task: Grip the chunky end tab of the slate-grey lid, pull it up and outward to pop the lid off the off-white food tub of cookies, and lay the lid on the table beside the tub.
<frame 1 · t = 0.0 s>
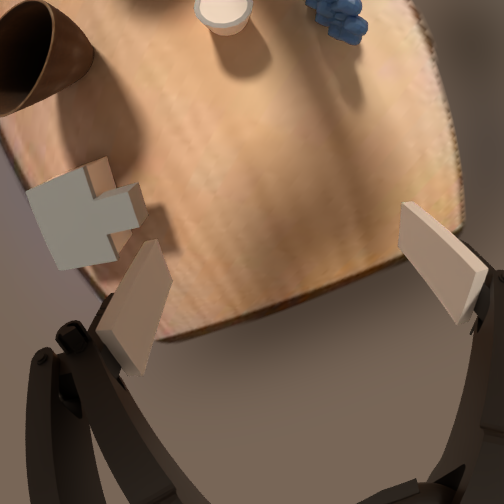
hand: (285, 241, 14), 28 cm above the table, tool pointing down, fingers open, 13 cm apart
beige cup: (227, 19, 28), on the table
tub: (90, 204, 42), on the table
plant pot: (75, 59, 29), on the table
lid: (70, 222, 36), point 7 cm above the table, touching tub
grapes: (326, 17, 28), on the table
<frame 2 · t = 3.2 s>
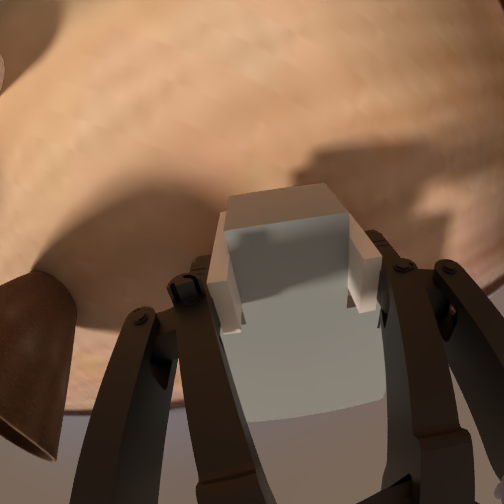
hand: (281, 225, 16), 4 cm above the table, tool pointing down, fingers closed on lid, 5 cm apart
plant pot: (49, 297, 25), on the table
lid: (298, 368, 19), point 7 cm above the table, touching gripper, tub
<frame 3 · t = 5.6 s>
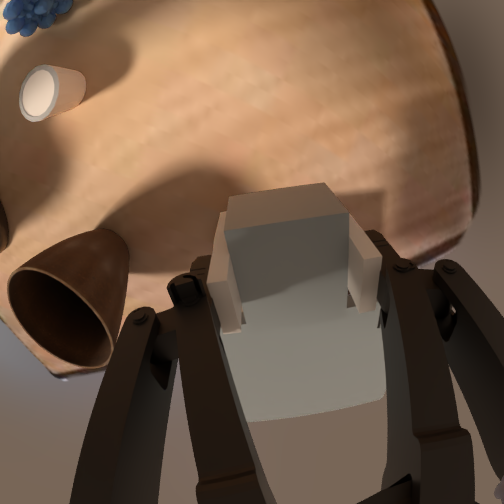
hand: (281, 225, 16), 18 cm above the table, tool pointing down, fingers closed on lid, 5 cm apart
beige cup: (70, 89, 26), on the table
plant pot: (107, 250, 38), on the table
lid: (298, 368, 19), point 21 cm above the table, touching gripper
grapes: (66, 5, 19), on the table
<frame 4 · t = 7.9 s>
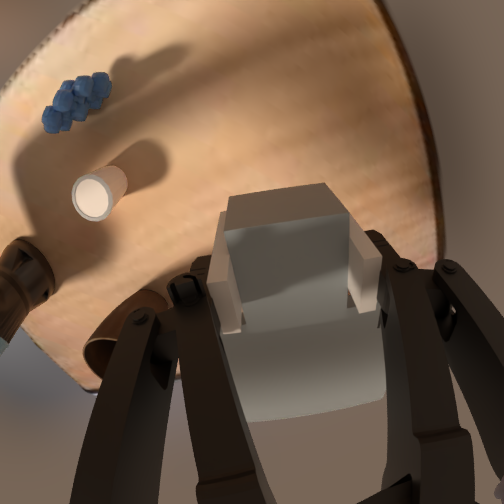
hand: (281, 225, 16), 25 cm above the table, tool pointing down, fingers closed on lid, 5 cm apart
beige cup: (112, 182, 39), on the table
plant pot: (149, 303, 51), on the table
lid: (298, 368, 19), point 27 cm above the table, touching gripper
grapes: (95, 96, 32), on the table
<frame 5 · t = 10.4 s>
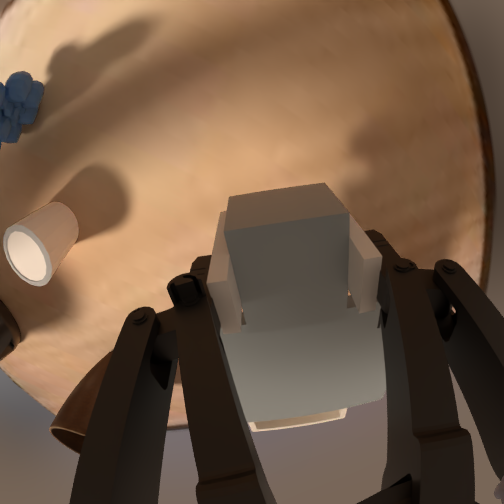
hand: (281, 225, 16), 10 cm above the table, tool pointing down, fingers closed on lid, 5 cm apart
beige cup: (60, 224, 26), on the table
tub: (291, 369, 39), on the table
plant pot: (126, 364, 38), on the table
lid: (298, 368, 19), point 12 cm above the table, touching gripper
grapes: (31, 105, 19), on the table
when the fingers open (3 cm above the table, at t = 12.6 s): lid drops 4 cm, point 1 cm above the table.
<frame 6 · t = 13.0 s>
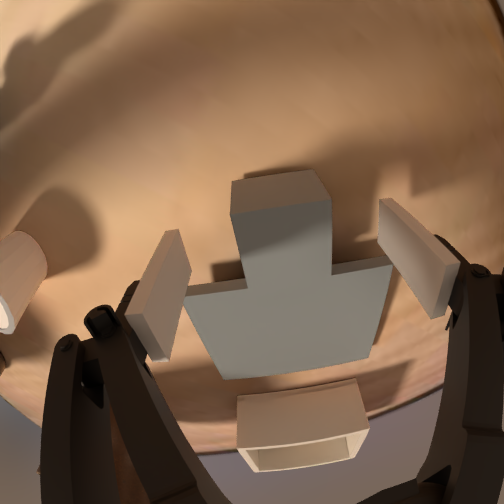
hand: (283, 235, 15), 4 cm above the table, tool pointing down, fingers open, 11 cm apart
beige cup: (27, 256, 20), on the table
tub: (298, 410, 33), on the table
plant pot: (116, 400, 32), on the table
lid: (292, 327, 23), point 1 cm above the table, tilted 7°
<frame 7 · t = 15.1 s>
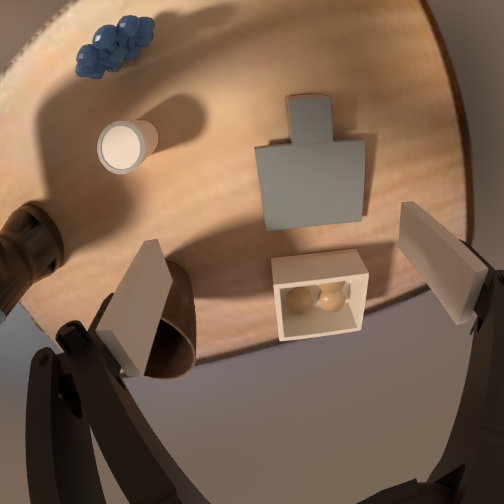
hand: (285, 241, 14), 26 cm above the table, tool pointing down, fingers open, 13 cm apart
beige cup: (141, 138, 36), on the table
tub: (314, 283, 48), on the table
plant pot: (168, 278, 48), on the table
lid: (312, 184, 38), point 1 cm above the table, tilted 7°
grapes: (131, 48, 29), on the table
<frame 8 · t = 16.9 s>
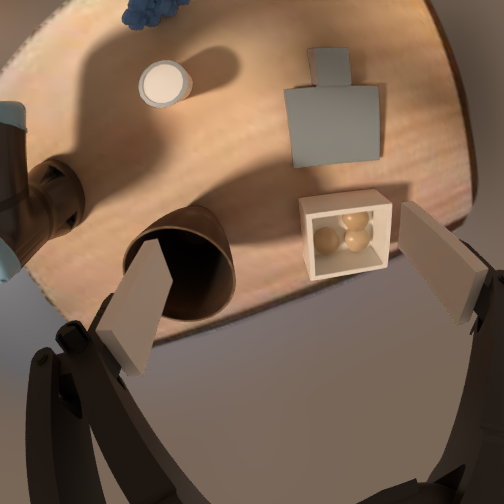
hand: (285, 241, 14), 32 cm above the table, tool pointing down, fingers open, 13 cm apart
beige cup: (175, 85, 36), on the table
tub: (339, 224, 49), on the table
plant pot: (195, 224, 49), on the table
lid: (335, 124, 39), point 1 cm above the table, tilted 7°
grapes: (167, 9, 29), on the table
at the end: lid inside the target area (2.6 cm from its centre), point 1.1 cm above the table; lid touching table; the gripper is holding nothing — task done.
